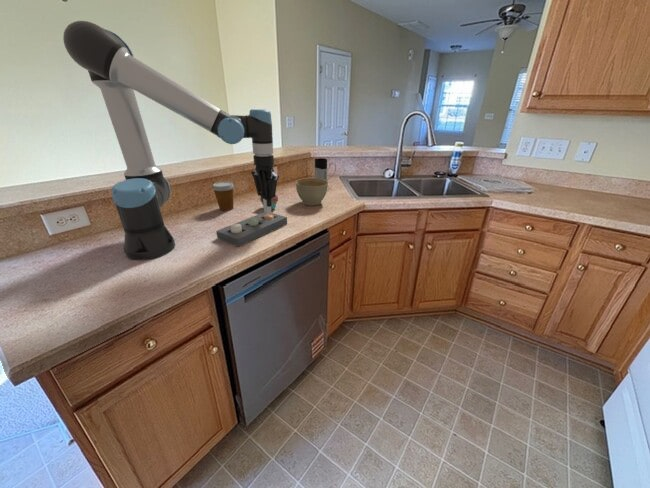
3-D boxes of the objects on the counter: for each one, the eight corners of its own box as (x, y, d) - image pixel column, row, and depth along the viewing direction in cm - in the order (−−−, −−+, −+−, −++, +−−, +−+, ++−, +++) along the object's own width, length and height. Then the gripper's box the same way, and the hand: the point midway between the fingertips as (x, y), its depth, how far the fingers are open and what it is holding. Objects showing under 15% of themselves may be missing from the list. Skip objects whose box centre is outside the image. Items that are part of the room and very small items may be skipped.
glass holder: (317, 181, 183) (317, 157, 176) (338, 184, 178) (338, 159, 171) (311, 184, 176) (311, 160, 169) (332, 187, 171) (333, 162, 164)
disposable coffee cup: (230, 212, 132) (227, 187, 126) (212, 211, 133) (207, 186, 128) (240, 206, 140) (237, 182, 134) (222, 204, 142) (218, 180, 136)
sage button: (253, 230, 111) (252, 221, 109) (246, 227, 113) (245, 219, 111) (261, 226, 114) (260, 218, 112) (254, 224, 116) (253, 216, 114)
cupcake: (282, 207, 138) (281, 183, 133) (268, 212, 133) (266, 187, 127) (271, 203, 143) (269, 180, 138) (257, 207, 138) (254, 183, 132)
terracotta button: (269, 226, 118) (268, 218, 116) (262, 224, 120) (261, 216, 118) (276, 223, 121) (275, 215, 119) (269, 221, 123) (268, 213, 121)
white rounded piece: (236, 237, 105) (234, 228, 103) (229, 234, 107) (227, 226, 105) (244, 233, 108) (243, 225, 106) (237, 231, 110) (236, 223, 108)
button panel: (238, 246, 101) (237, 239, 100) (217, 238, 107) (216, 230, 106) (287, 223, 121) (286, 217, 119) (267, 217, 127) (266, 211, 125)
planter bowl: (302, 210, 136) (302, 187, 131) (292, 200, 149) (291, 179, 144) (333, 205, 142) (333, 184, 137) (320, 196, 155) (320, 176, 150)
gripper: (283, 155, 107) (285, 214, 117) (258, 151, 113) (263, 207, 124) (268, 158, 101) (272, 219, 112) (244, 153, 108) (249, 212, 118)
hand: (267, 213), depth 118 cm, fingers closed
